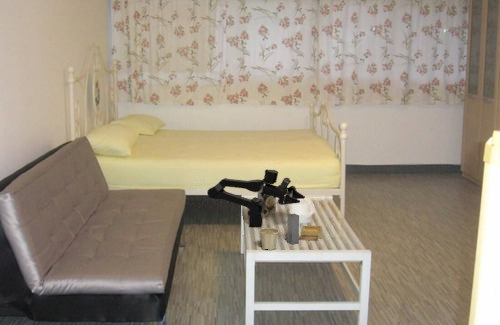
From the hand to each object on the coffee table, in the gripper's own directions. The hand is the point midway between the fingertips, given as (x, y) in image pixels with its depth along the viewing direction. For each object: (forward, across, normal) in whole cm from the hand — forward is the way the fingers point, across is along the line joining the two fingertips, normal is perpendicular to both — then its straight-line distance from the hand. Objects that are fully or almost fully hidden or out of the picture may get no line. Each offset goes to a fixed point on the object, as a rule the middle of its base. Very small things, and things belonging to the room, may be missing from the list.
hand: (302, 199), depth 307 cm
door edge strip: (+7, -14, +15) cm, 22 cm away
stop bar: (+5, -21, +16) cm, 27 cm away
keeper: (+10, -6, +15) cm, 19 cm away
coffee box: (-24, +24, +22) cm, 40 cm away
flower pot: (-3, -32, +18) cm, 37 cm away
